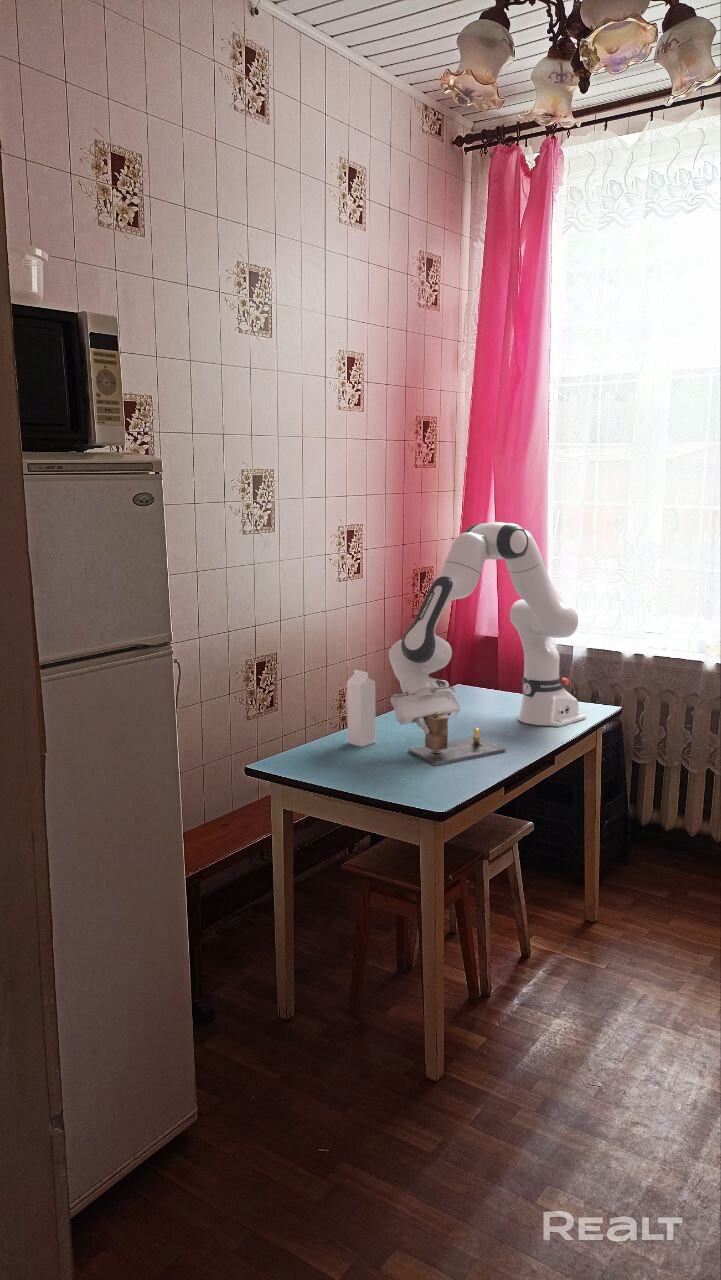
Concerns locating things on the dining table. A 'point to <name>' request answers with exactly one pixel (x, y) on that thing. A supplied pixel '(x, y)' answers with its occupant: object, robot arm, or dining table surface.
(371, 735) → the milk
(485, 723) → the dining table surface
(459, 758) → the bolt plate
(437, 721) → the walnut peg
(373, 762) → the dining table surface
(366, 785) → the dining table surface
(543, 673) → the robot arm
